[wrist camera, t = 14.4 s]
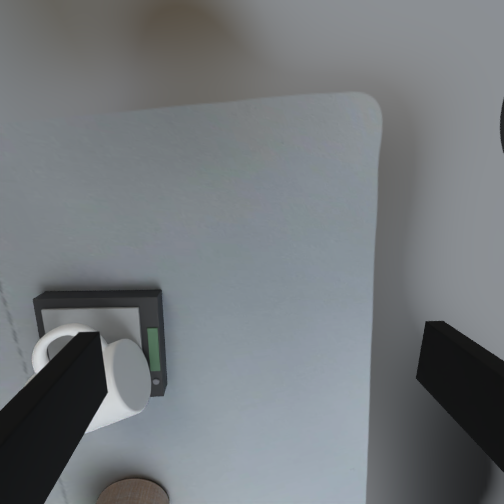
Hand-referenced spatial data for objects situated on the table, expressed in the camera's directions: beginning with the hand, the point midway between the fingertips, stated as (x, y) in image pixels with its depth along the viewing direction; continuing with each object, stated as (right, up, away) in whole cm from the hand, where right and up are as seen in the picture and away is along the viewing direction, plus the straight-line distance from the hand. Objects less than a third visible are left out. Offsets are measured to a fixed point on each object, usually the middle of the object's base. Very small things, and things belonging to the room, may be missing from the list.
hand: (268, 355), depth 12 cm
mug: (-19, -8, +23) cm, 31 cm away
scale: (-19, -7, +26) cm, 33 cm away
